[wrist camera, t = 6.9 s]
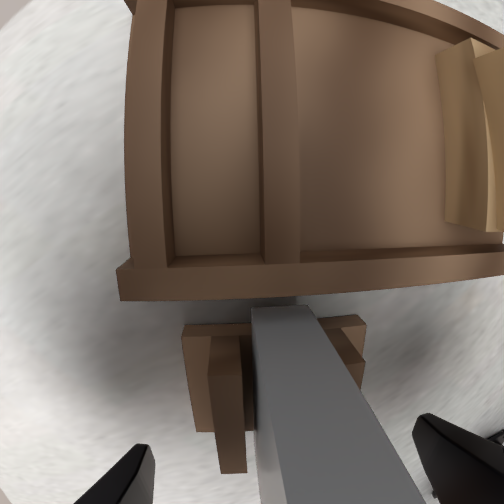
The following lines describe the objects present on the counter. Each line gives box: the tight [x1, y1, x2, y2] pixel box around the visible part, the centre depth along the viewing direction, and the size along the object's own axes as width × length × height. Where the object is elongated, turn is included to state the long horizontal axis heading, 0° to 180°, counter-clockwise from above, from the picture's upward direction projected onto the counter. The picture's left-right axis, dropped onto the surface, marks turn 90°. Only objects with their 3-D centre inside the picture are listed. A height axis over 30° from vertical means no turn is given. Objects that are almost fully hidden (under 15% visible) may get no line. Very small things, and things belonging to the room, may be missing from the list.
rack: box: [116, 0, 504, 301], centre depth 9 cm, size 16×11×2 cm
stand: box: [181, 315, 367, 474], centre depth 11 cm, size 7×5×4 cm
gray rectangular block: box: [251, 305, 426, 504], centre depth 7 cm, size 2×7×9 cm, turn 1°
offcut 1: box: [435, 38, 504, 232], centre depth 9 cm, size 4×7×2 cm, turn 1°
